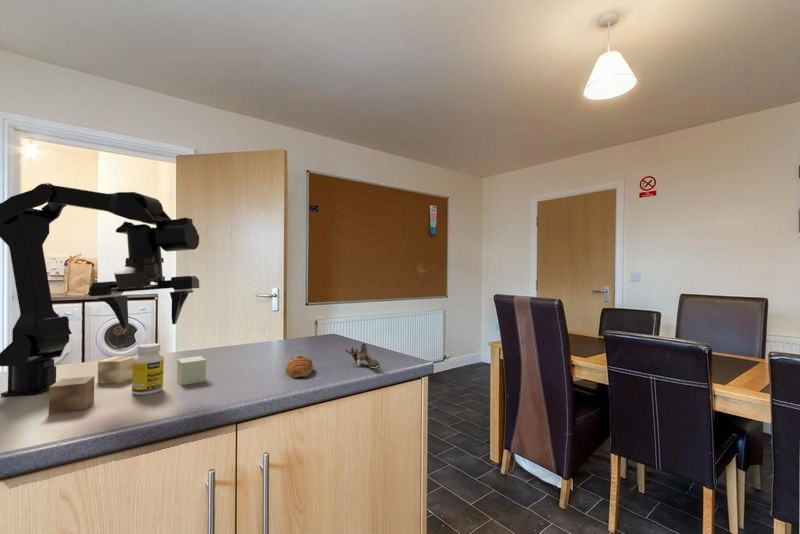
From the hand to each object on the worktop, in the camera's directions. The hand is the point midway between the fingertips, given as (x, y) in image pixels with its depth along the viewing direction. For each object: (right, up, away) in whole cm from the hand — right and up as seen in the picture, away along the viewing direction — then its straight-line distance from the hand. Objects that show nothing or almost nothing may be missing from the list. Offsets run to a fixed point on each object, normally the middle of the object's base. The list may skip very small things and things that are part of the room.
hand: (150, 326), depth 78 cm
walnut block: (-8, -14, -10) cm, 18 cm away
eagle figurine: (+43, -15, +22) cm, 51 cm away
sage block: (+4, -14, +8) cm, 16 cm away
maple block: (-13, -14, +7) cm, 20 cm away
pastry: (+28, -15, +15) cm, 35 cm away
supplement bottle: (0, -14, 0) cm, 14 cm away
